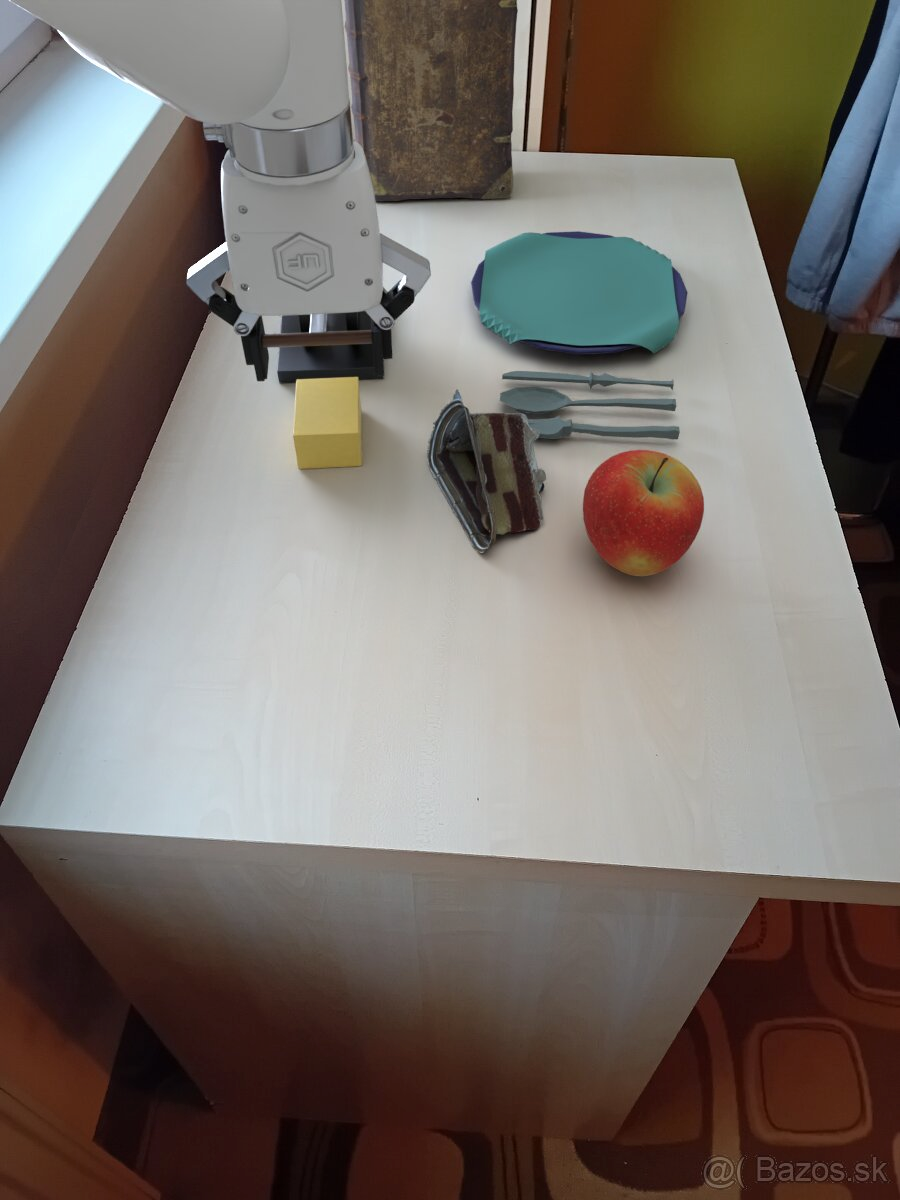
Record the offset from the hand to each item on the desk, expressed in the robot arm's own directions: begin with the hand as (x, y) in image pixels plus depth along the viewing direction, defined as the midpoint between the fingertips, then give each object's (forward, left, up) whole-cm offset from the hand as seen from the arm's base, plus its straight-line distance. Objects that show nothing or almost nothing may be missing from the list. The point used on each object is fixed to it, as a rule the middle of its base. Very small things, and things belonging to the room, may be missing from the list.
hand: (321, 366), depth 73 cm
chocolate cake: (+13, -7, -7) cm, 17 cm away
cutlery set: (+22, +12, -7) cm, 26 cm away
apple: (+22, -14, -7) cm, 27 cm away
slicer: (0, +14, -7) cm, 15 cm away
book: (+11, +41, -7) cm, 43 cm away
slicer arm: (0, +7, +1) cm, 7 cm away
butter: (0, 0, -7) cm, 7 cm away
